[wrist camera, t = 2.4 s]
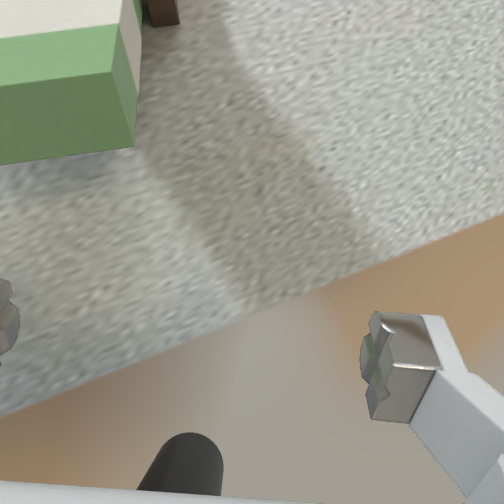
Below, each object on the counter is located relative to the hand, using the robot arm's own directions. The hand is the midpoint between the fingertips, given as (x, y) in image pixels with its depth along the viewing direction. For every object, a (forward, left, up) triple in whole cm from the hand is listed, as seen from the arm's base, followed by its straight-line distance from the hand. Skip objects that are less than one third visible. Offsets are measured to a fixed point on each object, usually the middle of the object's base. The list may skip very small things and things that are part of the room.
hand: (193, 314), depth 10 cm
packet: (+13, +5, -11) cm, 18 cm away
